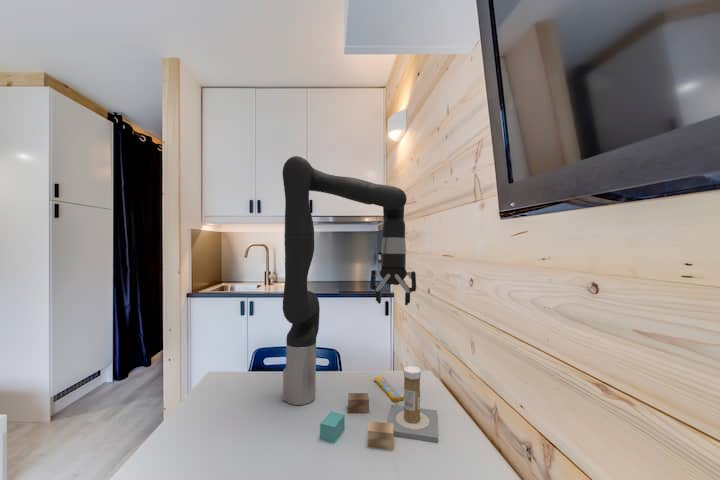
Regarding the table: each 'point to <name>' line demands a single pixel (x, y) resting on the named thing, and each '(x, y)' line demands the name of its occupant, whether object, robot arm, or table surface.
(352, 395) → the walnut block
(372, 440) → the oak block
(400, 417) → the slate board
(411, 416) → the sprinkles bottle
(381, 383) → the candy bar
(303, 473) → the table surface
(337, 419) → the teal block
